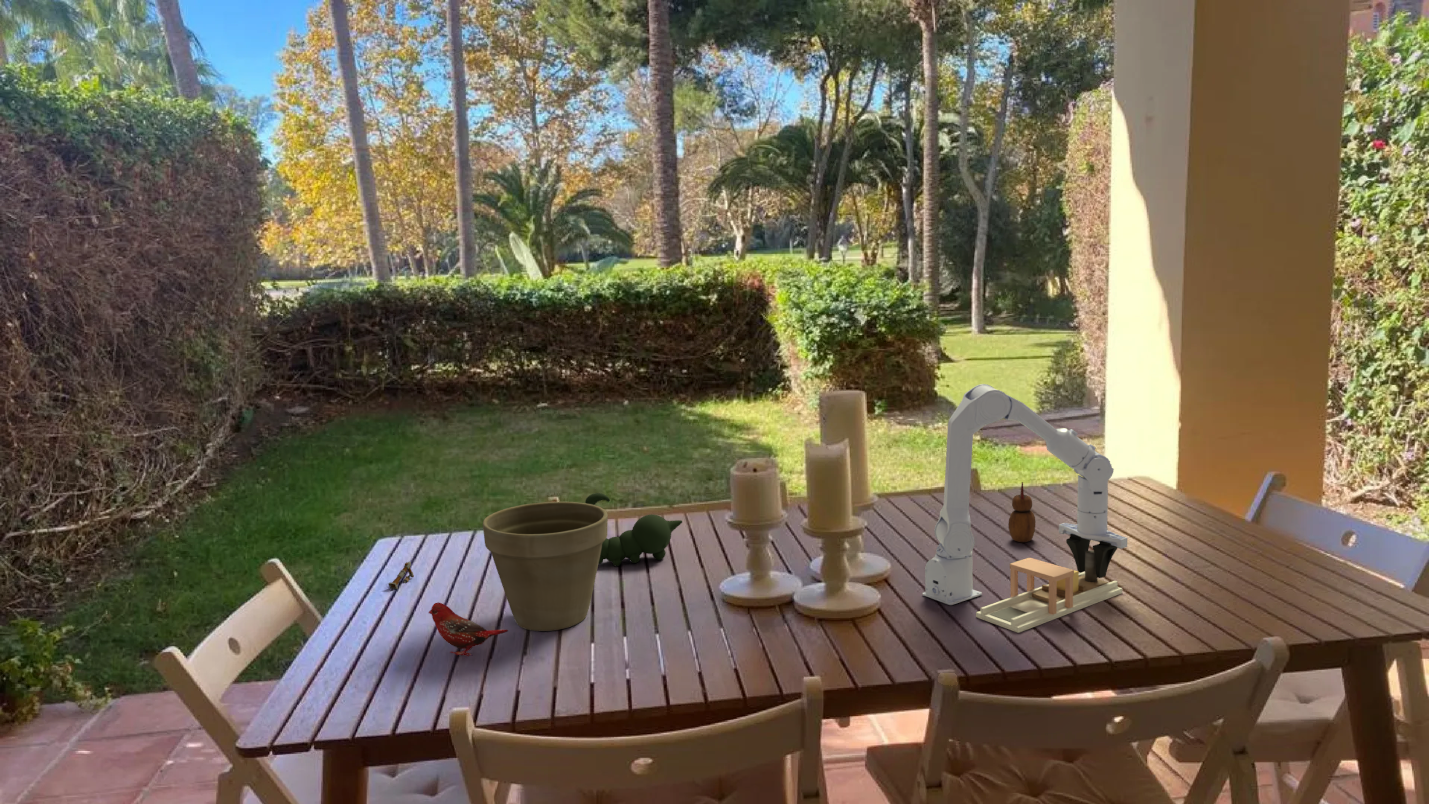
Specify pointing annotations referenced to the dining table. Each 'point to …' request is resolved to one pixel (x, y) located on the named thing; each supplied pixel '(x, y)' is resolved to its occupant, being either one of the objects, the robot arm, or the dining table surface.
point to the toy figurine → (636, 537)
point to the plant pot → (547, 560)
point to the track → (1033, 612)
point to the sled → (1084, 581)
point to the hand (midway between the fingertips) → (1091, 574)
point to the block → (1075, 582)
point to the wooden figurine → (1022, 518)
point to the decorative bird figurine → (459, 629)
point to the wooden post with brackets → (400, 576)
